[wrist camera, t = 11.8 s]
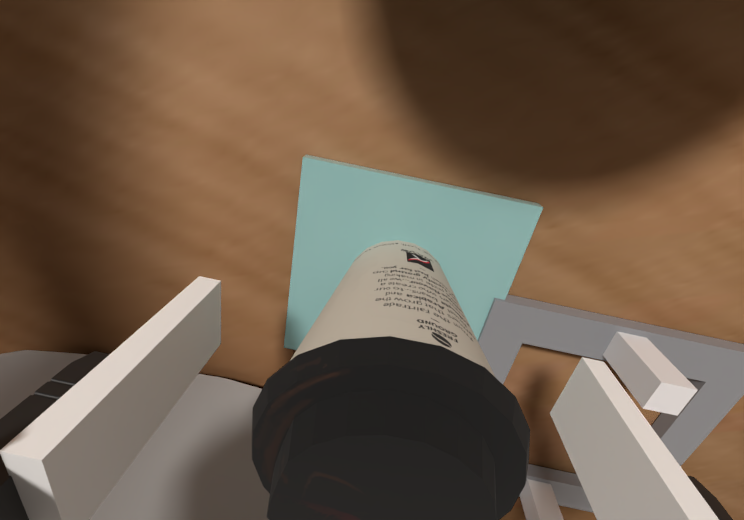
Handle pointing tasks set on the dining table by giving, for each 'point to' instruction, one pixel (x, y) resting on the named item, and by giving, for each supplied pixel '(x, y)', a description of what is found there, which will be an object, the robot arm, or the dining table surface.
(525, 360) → the dining table surface
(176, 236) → the dining table surface
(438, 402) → the coffee cup
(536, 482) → the collar
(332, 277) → the coaster
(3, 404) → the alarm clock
